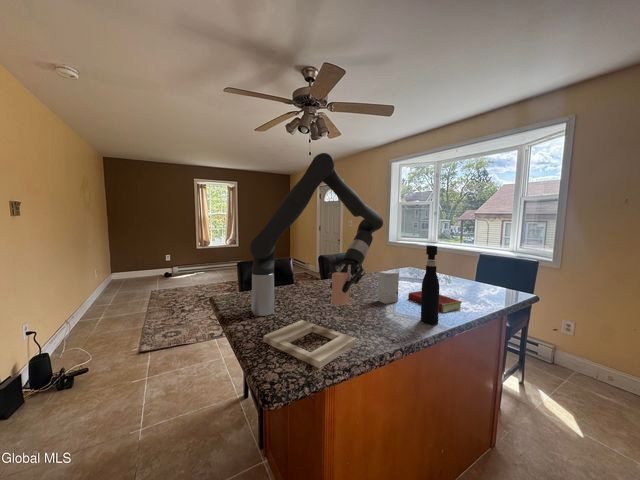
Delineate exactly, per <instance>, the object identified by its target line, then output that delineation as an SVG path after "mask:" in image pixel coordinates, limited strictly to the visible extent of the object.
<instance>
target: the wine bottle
mask: <svg viewBox="0 0 640 480" xmlns="http://www.w3.org/2000/svg"><path fill="white" fill-rule="evenodd" d="M425 251H426V253H425V254H426V255H427V260H426V265H425V274H424V275H423V278H422V281H421V291H422V294H421V304H420V322H421V323H422V322H423V324H425V325H429V324H430V325H429V326H434V325H438V324H439V315H440V314H439V312H440V311H439V294H440V282H439V278H438V275H437V263H436V255H438V246H437V245H426V250H425Z"/></svg>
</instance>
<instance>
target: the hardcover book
mask: <svg viewBox="0 0 640 480" xmlns="http://www.w3.org/2000/svg"><path fill="white" fill-rule="evenodd" d="M421 294H422V290H420V291H410V292H409V293H408V295H407V297H408V300H409V301H412V302H414V303H417V304H419V305H421ZM461 303H463V301H461V300H458V299H456V298H452V297H448V296H446V295H442V294H440V293H439V312H440V313H446V312H451V311H457V310H461Z"/></svg>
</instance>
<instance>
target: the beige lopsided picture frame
mask: <svg viewBox="0 0 640 480" xmlns="http://www.w3.org/2000/svg"><path fill="white" fill-rule="evenodd" d="M311 333H314V334H317V335H320V336H322V337H324V338H328V339H330V341H328V342H326V343H324V344H323V345H321V346H319V347H318V348H316V349H315V350H312V351H311V352H310V351H307V350H306V349H303V348H301V347H299V346H297V345H295V344H292V342H294V341H296V340H298V339H301V338H302V337H305V336H306V335H309V334H311ZM263 343H265V344H268V346H269V345H270V346H272V347H274V348H275V349H277V350H280V351H282V352H284V353H285V354H288V355H290V356H292V357H295V359H298V360H301V361H303V362H305V363H307V364H309V365H311V366H312V367H316V368H317V369H319V370H320V369H322V368H324V366H327V364H329V363H331V362H332V361H334V360H335V359H336V358H338V357H340V356H341V355H342V354H344V353H345V352H347V351H348V350H350V349H352V348H354V346H356V344H357V338H356V337H353V336H351V335H347V334H345V333H342V332H338V331H336V330H332V329H329V328H327V327H324V326H321V325H318V324H315V323H312V322H309V321H307V320H303V319H301V320H299V321H295V322H293V323H291V324H289V325H287V326H284V327H281V328H279V329H276V330H274V331H271V332H269V333H266V334H265V335H264V334H263Z"/></svg>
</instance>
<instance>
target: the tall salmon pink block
mask: <svg viewBox="0 0 640 480" xmlns="http://www.w3.org/2000/svg"><path fill="white" fill-rule="evenodd" d="M348 274H349V273H345V272H336V273H332V278H331V282H332V289H331V304H334V305H338V306H345V305H347V304H350V288H351V287H350V288H349V290H348V291H347V292H346V293H344V292H343V291H342V288H343V286H344V284H345V282H346V281H347V278H348Z"/></svg>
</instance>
